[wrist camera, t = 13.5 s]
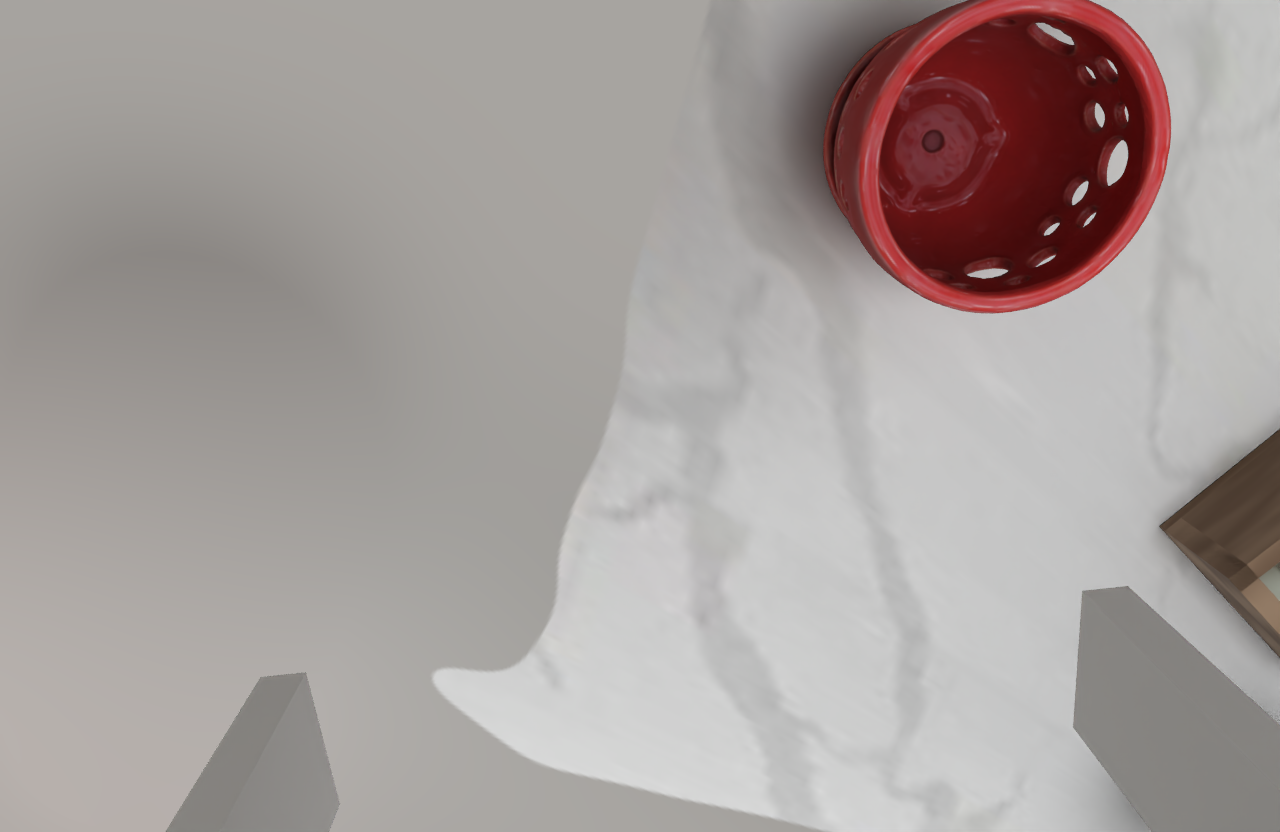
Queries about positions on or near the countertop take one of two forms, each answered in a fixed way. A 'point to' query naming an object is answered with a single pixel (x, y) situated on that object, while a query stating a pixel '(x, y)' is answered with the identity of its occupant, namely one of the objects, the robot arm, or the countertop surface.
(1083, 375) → the countertop surface
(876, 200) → the plant pot
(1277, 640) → the wooden stand
